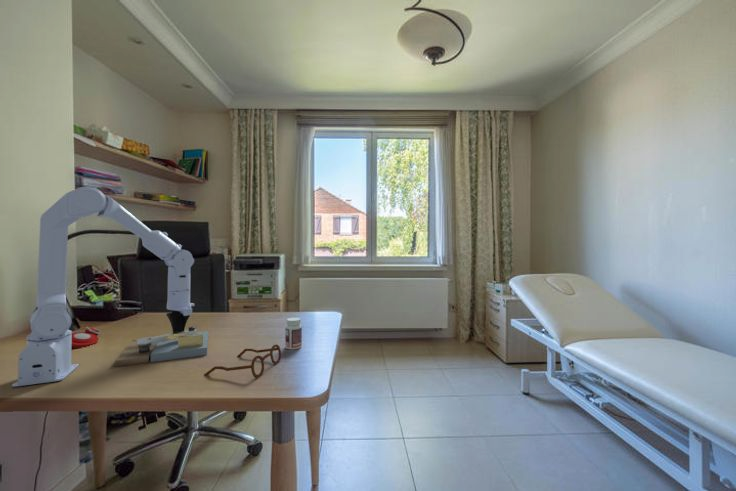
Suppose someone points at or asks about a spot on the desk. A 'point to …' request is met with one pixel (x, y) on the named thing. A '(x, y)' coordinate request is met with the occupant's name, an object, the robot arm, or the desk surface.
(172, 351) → the door panel
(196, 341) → the brass keeper
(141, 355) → the jamb board
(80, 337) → the tracker holder
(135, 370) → the desk surface
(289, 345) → the pill bottle
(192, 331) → the bar
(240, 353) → the glasses
